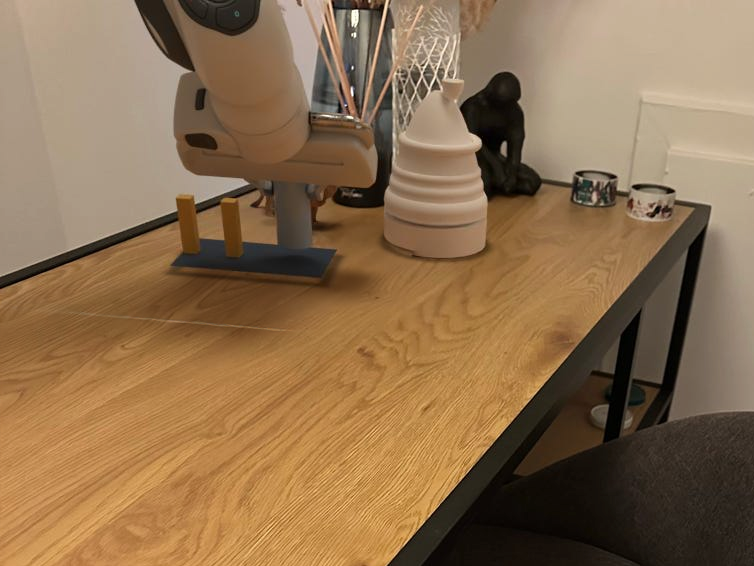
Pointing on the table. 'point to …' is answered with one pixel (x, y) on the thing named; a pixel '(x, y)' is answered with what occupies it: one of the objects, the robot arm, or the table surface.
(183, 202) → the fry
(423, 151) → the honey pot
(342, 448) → the table surface
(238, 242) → the post
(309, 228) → the grey cylinder
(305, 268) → the mat
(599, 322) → the table surface
